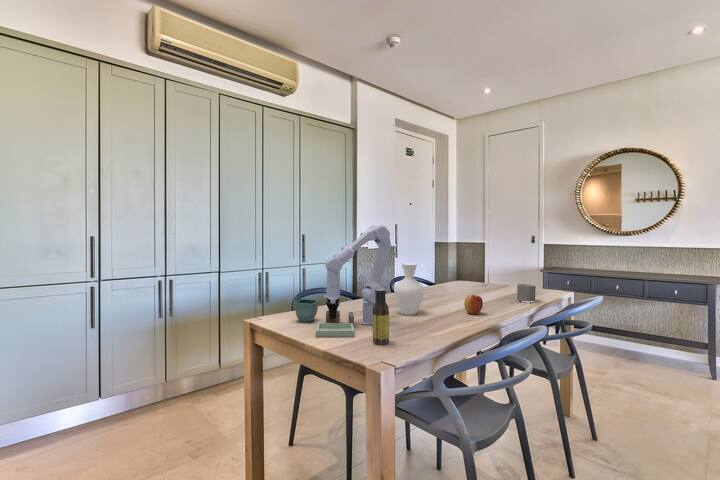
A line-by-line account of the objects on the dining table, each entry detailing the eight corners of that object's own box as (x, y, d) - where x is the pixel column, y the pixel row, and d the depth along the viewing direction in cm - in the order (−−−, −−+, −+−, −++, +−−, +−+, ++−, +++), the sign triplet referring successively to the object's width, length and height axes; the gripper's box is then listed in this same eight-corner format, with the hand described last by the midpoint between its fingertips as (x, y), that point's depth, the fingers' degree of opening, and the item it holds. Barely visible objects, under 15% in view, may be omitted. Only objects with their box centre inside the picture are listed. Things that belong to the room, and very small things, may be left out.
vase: (403, 309, 197) (403, 262, 196) (427, 313, 189) (428, 264, 188) (389, 313, 185) (389, 264, 185) (414, 318, 177) (415, 266, 176)
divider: (352, 323, 167) (353, 311, 167) (353, 328, 158) (354, 316, 158) (348, 323, 167) (348, 311, 166) (349, 328, 158) (349, 316, 158)
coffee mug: (528, 304, 216) (528, 286, 215) (513, 301, 224) (513, 284, 224) (542, 301, 223) (542, 285, 222) (527, 299, 231) (527, 283, 231)
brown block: (339, 324, 165) (339, 310, 165) (339, 327, 159) (339, 313, 159) (326, 324, 164) (326, 310, 164) (325, 327, 158) (325, 313, 158)
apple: (473, 316, 182) (473, 296, 182) (459, 312, 190) (460, 293, 190) (486, 314, 187) (486, 295, 186) (472, 311, 195) (473, 292, 194)
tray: (352, 328, 157) (352, 322, 157) (354, 337, 145) (354, 330, 145) (317, 328, 156) (317, 323, 156) (315, 337, 144) (315, 330, 144)
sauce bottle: (392, 341, 140) (392, 289, 139) (383, 346, 134) (384, 291, 134) (377, 338, 143) (378, 287, 143) (368, 342, 138) (369, 289, 137)
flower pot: (312, 323, 165) (312, 303, 164) (293, 322, 166) (294, 302, 166) (318, 319, 173) (319, 300, 173) (300, 317, 175) (301, 299, 175)
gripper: (324, 283, 168) (323, 312, 168) (323, 288, 154) (322, 320, 154) (340, 283, 168) (339, 312, 169) (340, 288, 154) (339, 320, 154)
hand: (332, 316), depth 161 cm, fingers open, 7 cm apart
